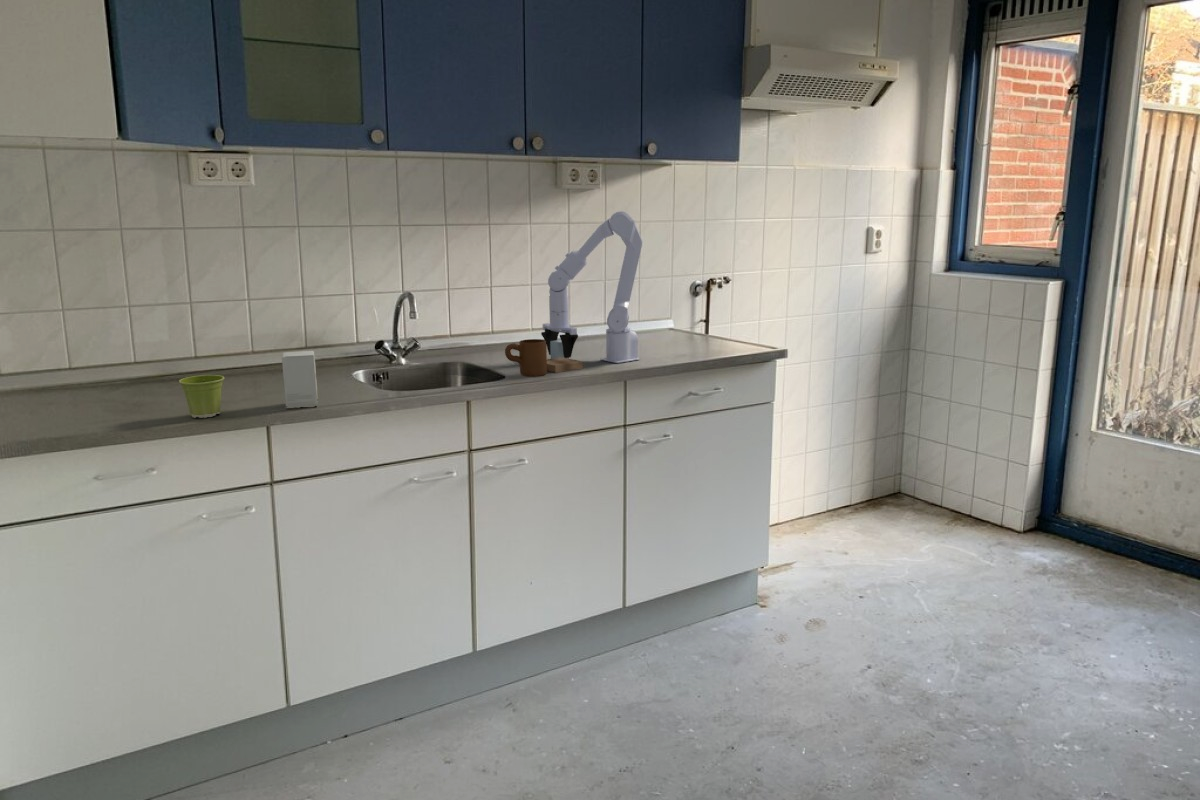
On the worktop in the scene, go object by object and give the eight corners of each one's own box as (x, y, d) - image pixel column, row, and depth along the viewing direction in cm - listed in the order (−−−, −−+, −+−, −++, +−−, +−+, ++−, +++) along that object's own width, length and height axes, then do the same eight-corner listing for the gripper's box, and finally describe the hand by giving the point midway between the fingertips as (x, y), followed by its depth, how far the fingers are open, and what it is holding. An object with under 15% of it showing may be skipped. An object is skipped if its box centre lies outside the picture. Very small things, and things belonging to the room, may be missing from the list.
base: (562, 363, 266) (562, 357, 266) (583, 368, 258) (583, 361, 258) (534, 368, 260) (534, 361, 259) (555, 372, 252) (555, 365, 252)
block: (561, 359, 274) (560, 339, 273) (569, 360, 271) (568, 341, 270) (550, 360, 272) (550, 341, 271) (558, 362, 269) (558, 342, 268)
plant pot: (232, 416, 203) (228, 379, 201) (188, 423, 198) (183, 384, 196) (222, 409, 211) (218, 373, 209) (179, 415, 206) (175, 378, 204)
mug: (510, 379, 244) (509, 345, 242) (501, 374, 250) (499, 341, 248) (551, 375, 249) (550, 341, 247) (540, 370, 255) (539, 338, 253)
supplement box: (318, 407, 212) (314, 354, 209) (285, 409, 210) (280, 356, 207) (318, 401, 219) (314, 350, 216) (286, 403, 217) (282, 351, 214)
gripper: (534, 310, 271) (535, 354, 274) (563, 314, 260) (564, 360, 263) (552, 308, 276) (553, 352, 279) (582, 312, 265) (582, 357, 268)
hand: (559, 356), depth 271 cm, fingers open, 7 cm apart
